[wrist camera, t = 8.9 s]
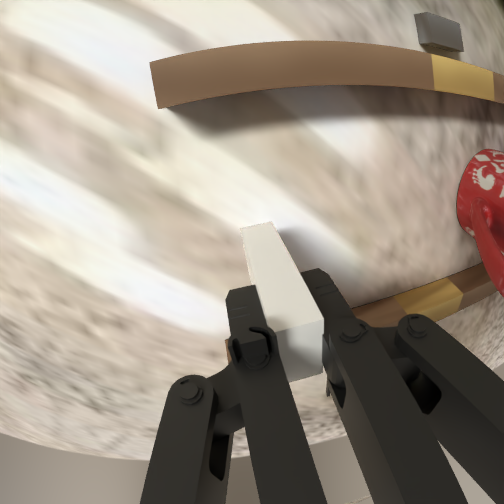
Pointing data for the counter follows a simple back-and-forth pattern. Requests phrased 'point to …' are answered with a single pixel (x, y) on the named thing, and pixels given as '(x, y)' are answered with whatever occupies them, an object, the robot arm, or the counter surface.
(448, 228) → the counter surface
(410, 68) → the beam slot
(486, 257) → the mug
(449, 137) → the counter surface
